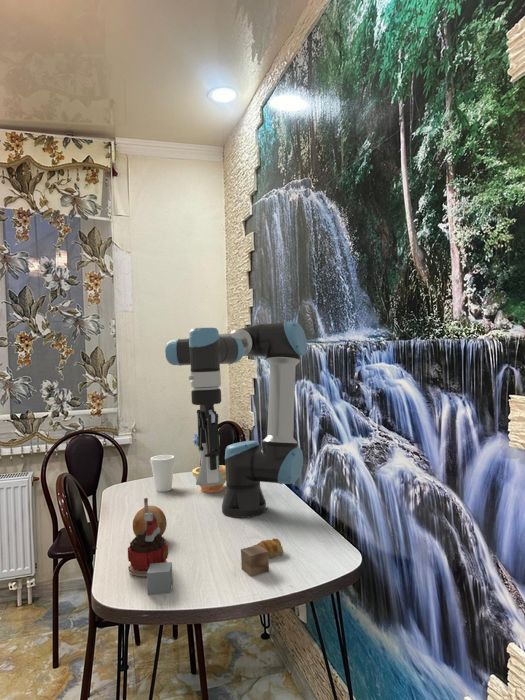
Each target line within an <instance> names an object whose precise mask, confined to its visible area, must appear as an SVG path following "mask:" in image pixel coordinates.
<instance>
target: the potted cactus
mask: <svg viewBox="0 0 525 700" xmlns="http://www.w3.org/2000/svg"><path fill="white" fill-rule="evenodd" d="M192 439H193V440H192V442H193V445H194V446H196V447H197V449H198V451H199V453H200V451H202V450H200V449H199V446H198V430H197V431H196V432H195V434H194V435H193V437H192ZM220 441H221V436H220V435H219V446H221V442H220ZM219 458H220V456H219V455H218V468H219V470H220V473H221V475H222V478H223V482H222V483H220V484H218V485H209V486H203V485H199V487H200V492H202V493H218V492H221V491H222V490H224V487H223V486H224V485H225V484H226V467H225V465H223V464H222V465H220V459H219ZM200 467H201V466H198V467H195V468H194V469H192V475H193V477H194V478H195V480H196V481H197V477H198V474H199V471H200Z"/></svg>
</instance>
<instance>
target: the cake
mask: <svg viewBox="0 0 525 700" xmlns="http://www.w3.org/2000/svg"><path fill="white" fill-rule="evenodd" d="M148 501H149V499H148V497H144V498H143V502H144V503H143V504H144V505H143V506H144V507H143V508H144V510H145V516H144V520H145V531H141V532H140V533H139V534H138V535H137V536H135V537H134V538H133V539H132V540H131V542H129V546H128V547H127V560H128V562H130V564H129V566H128V568H127V569H128V573H130V574H131V575H133V576H134V575H135V576H136V577H147V572H148V569H149V566H150V564H152V563H166V562H168V561H167V559H168V558H169V546H168V544H167V541H166V540H165V538H164V536H163V535H162V536H161V534H159V533H160V529H159V527H158V523H157V519H156V517H155V515H154V513H148V506H149V502H148Z"/></svg>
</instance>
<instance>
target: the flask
mask: <svg viewBox="0 0 525 700" xmlns="http://www.w3.org/2000/svg"><path fill="white" fill-rule="evenodd" d="M202 447H203V449H204V452H203V460H202V463H201V462H200V466H199V467H200V471H199V474H198V477H197V480H196V481H195V485H197V486H200V485H203V486H209V485H218V484H220V483H222V482H223V478H222V475H221V473H220V470H219V468H218V475H219V482H215V483H207V461H206V457H205V454H207V446H206V443H203V444H202Z"/></svg>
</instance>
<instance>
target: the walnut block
mask: <svg viewBox="0 0 525 700" xmlns="http://www.w3.org/2000/svg"><path fill="white" fill-rule="evenodd" d="M254 545H255V546H254ZM254 545H252V546H249V547H244V548H241V549H240V558H241V559H240V561H241V565H240V566H241V570H242V571H243V572H244V573H246V574H247V575H248V576H249V577H251V578H252V577H256V576H258V575H262V574H265V573H270V561H269V556H268V551H267V550H266V549H264V548H263V547H261V546H260V545H257V544H254Z"/></svg>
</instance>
